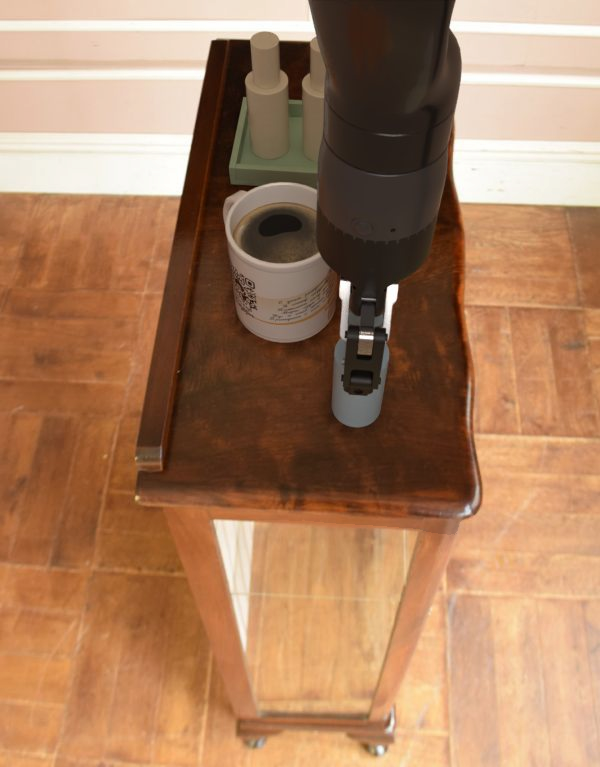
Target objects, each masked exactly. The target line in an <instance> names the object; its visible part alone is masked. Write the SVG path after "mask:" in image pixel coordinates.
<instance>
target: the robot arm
mask: <svg viewBox="0 0 600 767" xmlns="http://www.w3.org/2000/svg"><path fill="white" fill-rule="evenodd" d="M456 1H457V0H307V2H308V6H309V11H310V15H311V20H312V23H313V24H312V25H313V27H314V28H313V29H314V32H315V37H317V41H318V45H319V49H320V52H321V55H322V58H323V61H324V64H325V68H326V73H325V85H324V113H323V135H322V140H321V144H320V150H319V156H318V169H317V212H316V244H317V248H318V251H319V253H320V255H321V257H322V259H323V260H324V261H325V263H326V264H327V265H328V266H329V267H330V268H331V269H332V270H333V271H335V272H336V273H337V274H338V276H339V291H338V296H339V299H340V300H341V309H340V310H341V313H340V324H339V337H340V339H341V338H342V339H343V340H345V342H346V350H345V358H343V361H342V365H344V375H343V374H341V382H343V387H344V391H345V392H347V393H349V395H360V396H368V394H371V393H373V389H376V390H378V386H379V385H381V377H380V373H381V367H382V360H383V354H384V347H385V343H386V344H387V343H388V341H389V340H390V335H391V327H392V326H391V325H392V314H393V307H394V304H395V303H396V302H397V301H398V295H399V286H400V282H401V281H402V280H405V279H406V278H409V277H410V276H412V275H413V274H415V273H416V272H417V271H418V270H419V269H421V268H422V266H423V265H424V264H425V263H426V261H427V259H428V258H429V255H430V252H431V249H432V244H433V240H434V235H435V231H436V226H437V222H438V218H439V217H438V216H439V212H440V207H441V202H442V198H443V194H444V189H445V183H446V181H447V180H446V179H447V173H448V164H449V144H450V140H451V139H450V138H451V133H452V129H453V124H454V120H455V114H456V109H457V104H458V99H459V94H460V87H461V81H462V70H463V60H462V52H461V47H460V44H459V41H458V39H457V36H456V35H455V33H454V32H453V30H452V29H451V28H450V27H451V22H452V18H453V17H452V16H453V12H454V8H455V5H456ZM350 310H351V311H352V313H353V314H354V315H355V316H359V317H360V324H359V326H358V325H352V324H351V323H350V322H349V320H348V315H349V312H350ZM381 314H383V322H382V324H381V325H380V326H378V327H374V321H375V317H378V316H380V315H381Z"/></svg>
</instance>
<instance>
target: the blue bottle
mask: <svg viewBox="0 0 600 767" xmlns="http://www.w3.org/2000/svg"><path fill="white" fill-rule="evenodd" d="M348 320H349V322H350V323H351V324H352V325H358V326H359V324H360V317H359V316H355V315H354V314H353V313H352V311H351V309H349V315H348ZM382 322H383V313H382V314H381V315H380V316H378V317H375V321H374V327H378V326H380V325H381V324H382ZM345 350H346V342H345V340H343V339H342V338H341V337H340V338H339V340H338V341H337V342H336V344H335V347H334V351H333V368H332V369H333V370H332V387H331V388H332V390H331V411H332V413H333V415H334V417H335V418H336V419H337V421H339V423H341V424H342V425H344V426H347V427H351V428H364V427H367V426H369V425H371V424H373V423H374V422H375V421H376V420H377V419H378V417H379V416H380V414H381V410H382V404H383V398H384V392H385V385H386V379H387V374H388V368H389V362H390V348H389V346H388V344H387V342H386V343H385V347H384V354H383V360H382V367H381V373H380V377H381V385H379V386H378V390H376V389H373V393H371V394H368V396H360V395H349V393H347V392H345V391H344V387H343V382H341V374H343V375H344V365H342V361H343V358H345Z"/></svg>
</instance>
